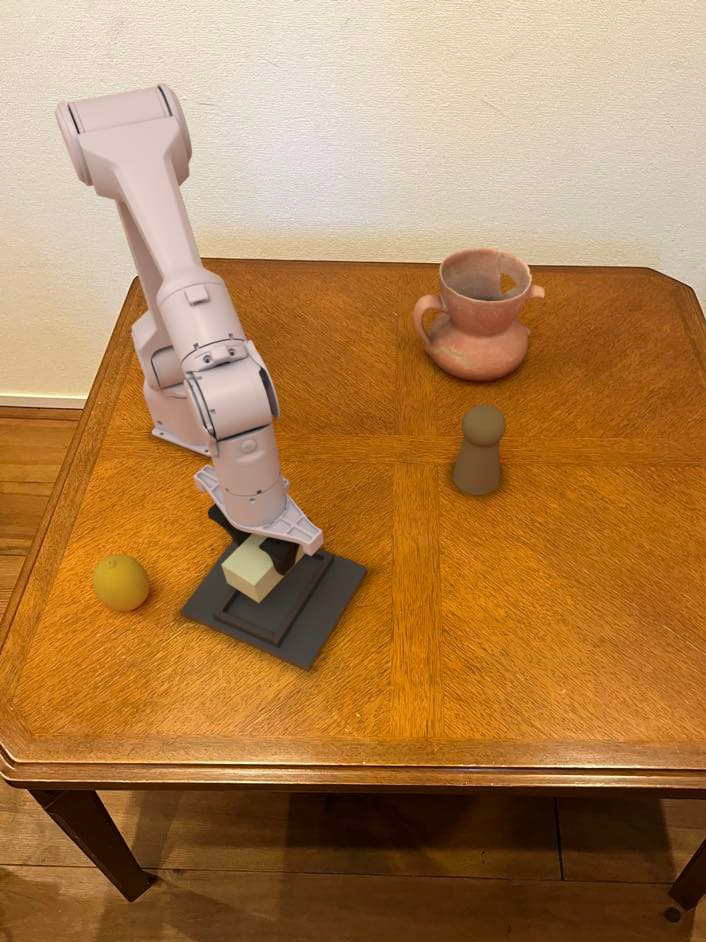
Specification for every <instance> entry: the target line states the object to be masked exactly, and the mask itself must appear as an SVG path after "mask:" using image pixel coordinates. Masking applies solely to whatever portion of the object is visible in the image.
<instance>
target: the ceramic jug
mask: <svg viewBox="0 0 706 942" xmlns="http://www.w3.org/2000/svg"><path fill="white" fill-rule="evenodd" d="M502 274H505V275H507V276H509V277H510V279H511V280H512V281H513V282H514V283H515V284H516V287H514V288H511V289H509V290H507V291H505V292H504V293H502V288H501V287H502V286H501V276H502ZM438 281H439V289H440V294H441V295H440V296H439V295H437V294H436V295H435V294H427V295H423V296H422V297H420V298H419V299H418V300H417V302H416V304H415V306H414V308H413V313H412V323H413V324H412V325H413V328H414V330H415V332H416V333H417V335H418V336H419V338H420V340H421V341H422V342H423V348H424V350H425V351H426V353H427V354H428V355H429V357H430V359H431V360H432V361H433V362H434V363H435V364H436V366H438V367H439V368H440V369H441V370H442V371H444V372H446V373H447V374H450V375H451V376H453V377H456V378H459V379H462V380H466V381H471V382H472V381H473V382H488V381H493V380H494V381H495V380H498V379H501V378H503V377H506V376H508V375H509V374H510V373H512V372H514V371H516V370H517V369H518V368H519V367H520V366H521V364H522V363H523V361H525V359H526V356H527V354H528V349H529V338H530V336H531V329H529V328H528V327H527V326H526V325H524V324H523V322H521V320H520V319H519V318H517V316H518V315H519V313H520V312H521V309H522V308H523V307H524V305H525V303H526V302H528V301H530V300H532V299H540V300H544V298H545V296H546V295H545V294H546V293H545V292H546V291H545V288H544V287H542V286H539V285H536V284H535V285H534V284H533V285H532V282H533V275H532V274H531V269H530V266H529V265H528V264H527V263H526V262H525V261H524V260H523V259H521V257H519V256H517V255H516V254H514V253H512V252H509V251H506V250H502V249H501V250H500V249H498V248H492V247H473V248H469V249H463V250H461V251H456V252H454V253H452V254H450V255H449V256H447V257H446V258H445V259H443V260H442V262H441V263H440V265H439V269H438ZM428 310H436V311H439V312H441V313H440V314H439V315H438V316H436V317H435V319H434V320H433V321H432V322H431V324H430V325H429V327H428V330H427V331H426V329H425V326H424V320H423V319H424V316H425V313H426V312H427V311H428Z"/></svg>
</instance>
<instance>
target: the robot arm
mask: <svg viewBox="0 0 706 942" xmlns="http://www.w3.org/2000/svg"><path fill="white" fill-rule="evenodd" d="M54 115H55V119H56V121H57V124H58V128H59V130H60V134H61V136H62V139H63V141H64V142H63V143H64V145H65V147H66V150H67V153H68V156H69V158H70V161H71V163H72V166H73V169H74V171H75V173H76V176H77V178H78V180H79V181H80V182H82V183H83V184H85V185H86V186H87V187H93V188H94V191H95V194H96V195H97V197H102V198H104V199H105V198H106V199H109V200H114V202H115V206H116V209H117V213H118V216H119V219H120V222H121V226H122V228H123V231H124V234H125V238H126V241H127V245H128V247H129V250H130V255H131V257H132V260H133V264H134V266H135V269H136V273H137V276H138V279H139V282H140V285H141V289H142V292H143V296H144V298H145V302H146V305H147V308H148V309H147V310H146V311H145V312H144V313H143V314H142V315H141V316H140V317H139V318H138V319H137V320H136V321H135V322H134V323H133V324H132V325H131V328H130V329H131V332H130V336H131V338H132V341H133V347H134V350H135V353H136V354H135V355H136V357H137V360H138V363H139V365H140V368H141V370H142V373H143V375H144V381H143V388H142V392H143V393H142V394H143V397H144V400H145V403H146V406H147V408H148V411H149V415H150V417H151V419H152V423H153V425H154V428H152V431H151V434H152V436H153V437H156V438H159V439H161V440H164V441H165V442H166V441H167V442H170V443H172V444H173V445H177V446H179V447H182V448H185V449H188V450H190V451H193V452H195V453H198V454H201V455H203V456H206V457H208V458H210V459H211V461H212V465H213V466H211V465H210V464H208V463H207V464H205V465H204V466H203V467H202V468H201V469H200V470H199V471H197V472H196V473H195V474H194V475H193V480H194V483H195V486H196V489H197V490H199V491H200V492H202V493H207V494H208V496H210V498H211V499H212V500H213V502H214V504H212V506H210V507H209V509H208V511H207V517H208V519H210V520H211V521H213V522H214V523H216V524H218V525H219V526H220V527H221V528H222V529H223V530H224V531H225V532H226V533H227V534H228V535H229V536H230V538H231V539H232V541H233V540H234V541H235V543H236V544H237V546H238V547H239V546H240V545H241V544H242V543H243V542H244V541H245V540H246V539H247V538H248V537H249V536H250V535H251V534H252V533H254V534H258V535H263V536H267V538H266V539H265V540H264V541H263V542H262V543H261V544H260V545H259V549H261V550H262V551H264V552H266V553H267V554H268V555H269V557H270V558H271V560H272V562H273V565H274V568H275V569H276V571H277V572H278V573H279V574H280V575H282V576H284V575H285V574H286V573H287V572H288V571H289V570H290V569H291V568H292V567H293V566H294V565H295V561H296V556H297V552H298V549H299V546H300V544H301V545H302V546H303V551H304V552H305V553H306V554H308V555H310V556H312V555H313V554H314V553H315V552H316V551H317V550H318V549H319V548H320V549H321V547H322V545H323V544H324V543H325V540H324V532H323V530H322V529H321V528H319V527H318V526H316V525H315V524H314V523H313V522H312V519H311V518H310V517H309V516H308V515H306V514H305V513H304V512H303V510H302V509H301V508H300V507H299V505H298V504H297V503H296V501H295V500H294V499H293V498H292V497H291V495H290V494H289V493H288V492H287V491H288V490H289V488H290V487H291V485H290V484H291V483H290V480H289V479H288V478H286V477H284V476H283V473H282V467H281V463H280V457H279V451H278V446H277V440H276V439H277V438H276V435H275V429H274V423H273V418H274V419H276V420H280V418H281V412H280V404H279V398H278V394H277V390H276V387H275V383H274V381H273V379H272V376H271V374H270V371H269V369H268V368H267V366H266V364H265V362H264V360H263V358H262V356H261V355H260V353H259V352H258V350H257V348H256V346H255V344H254V342H253V340H252V339H249V340H248V338H247V335H246V333H245V330H244V328H243V326H242V323H241V321H240V318H239V316H238V312H237V310H236V308H235V305H234V302H233V300H232V298H231V295H230V293H229V292H230V291H228V288H227V285H226V282H225V281H224V279H223V278H222V277H221V276H220V275H218V274H217V273H215V272H212V271H211V270H209V269H207V268H205V267H204V265H203V262H202V259H201V256H200V252H199V248H198V245H197V242H196V239H195V236H194V231H193V228H192V225H191V222H190V218H189V215H188V211H187V208H186V205H185V201H184V199H183V195H182V192H181V188H180V187H181V186H182V184H184V182H186V181H187V180H188V178H189V177H190V175H191V174H190V165H189V164H190V160H191V158H192V156H193V148H192V147H193V146H192V140H191V135H190V132H189V128H188V124H187V121H186V117H185V114H184V111H183V108H182V106H181V103H180V100H179V99H178V96H177V94H176V92H175V91H174V89H171V88H170V87H169V86H168V85H167V84H166V83H158V84H157V85H156V86H152V87H147V88H146V87H145V88H140V89H135V90H129V91H124V92H118V93H112V94H108V95H102V96H98V97H97V96H96V97H91V98H85V99H80V100H74V101H69V102H67V103H66V101H65V100H63V101H62V100H61V101H59V102H57V106H56V108H55V110H54ZM272 417H273V418H272Z"/></svg>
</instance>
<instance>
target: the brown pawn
mask: <svg viewBox="0 0 706 942" xmlns="http://www.w3.org/2000/svg"><path fill="white" fill-rule="evenodd" d="M506 430H507V421H506V418H505V416H504V414H503V412H502V411H500V409H498V408H497V407H495V406H494V405H489V404H477V405H475V406H472V407H470V409H468V410H467V411H466V412H465V413H464V416H463V418H462V420H461V431H462V434H463V440H462V443H461V446H460V449H459V452H458V455H457V459H456V462H455V466H454V468H453V472H452V481H453V483H454V485H455V486H456V487H457V489H459V490H460V491H462V492H463V493H465V494H468V495H472V496H484V495H488V494H490V493H492V492H494V491H495V490H496V489H497V488H498V486H499V484H500V481H501V480H500V479H501V478H500V477H501V476H500V475H501V473H500V470H501V469H500V466H501V465H500V463H501V462H500V441H501V440H502V439H503V437H504V435H505V433H506Z"/></svg>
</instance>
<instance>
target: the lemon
mask: <svg viewBox="0 0 706 942" xmlns="http://www.w3.org/2000/svg"><path fill="white" fill-rule="evenodd" d="M92 572H93V573H92V588H93V590H94V593H95V595H96V598H97V599H98V600H99V601H100V602H101V603H102V604H103V606H105V607H107V608H108V609H109V610H113V611H116V612H123V613H124V612H130V611H132V610H135V609H137V608H139V607H140V606H141V605H142V604H143V603H144V602H145V601H146V600H147V598H148V595H149V593H150V586H151V585H150V578H149V574H148V573H147V571H146V569H145V568H144V567H143V565H142V564H141V563H140V561H138V560H136V559H135V558H134V557H133V556H130V555H128V554H123V553H115V554H109V555H107V556H106V557H104V558H102V559H101V560H99V562H98V563H97V564H96V566H95V568H94V569H93V571H92Z"/></svg>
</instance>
